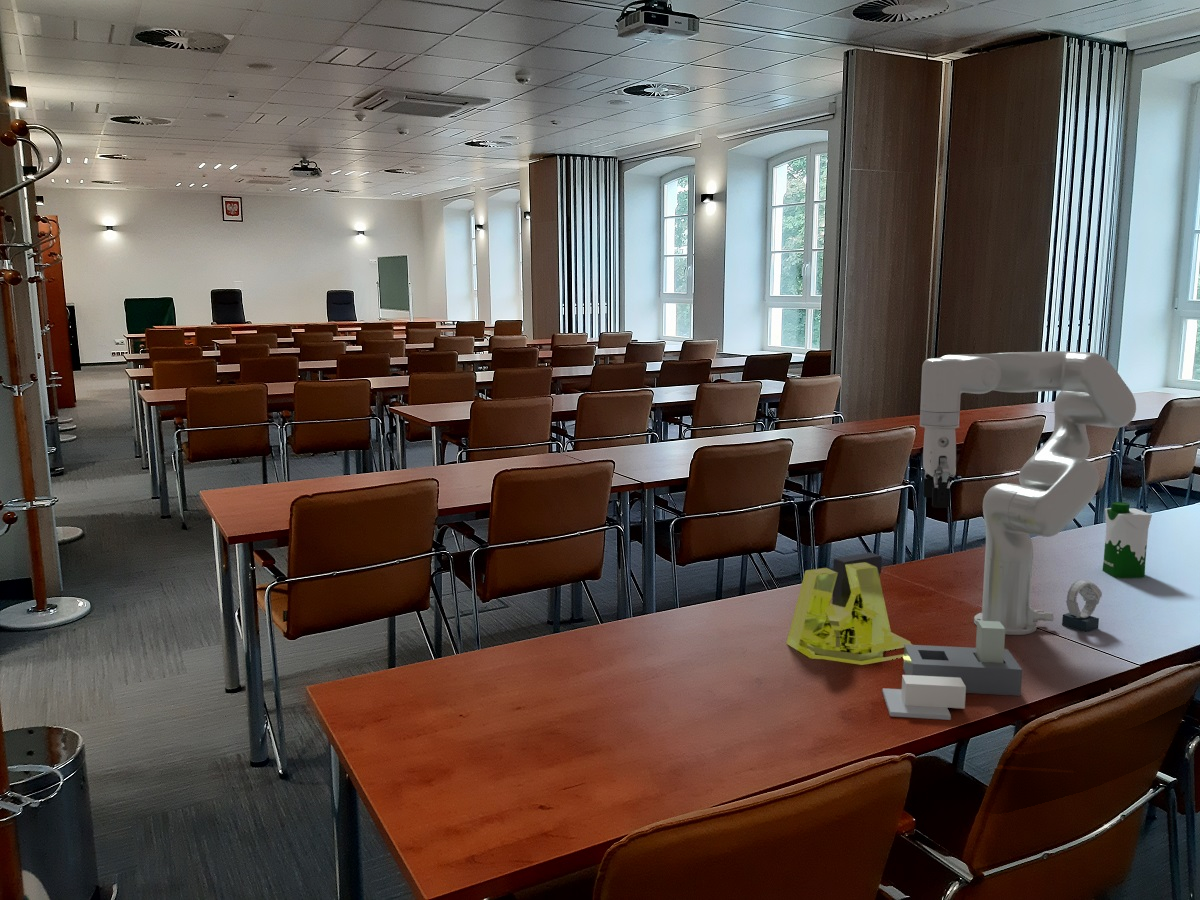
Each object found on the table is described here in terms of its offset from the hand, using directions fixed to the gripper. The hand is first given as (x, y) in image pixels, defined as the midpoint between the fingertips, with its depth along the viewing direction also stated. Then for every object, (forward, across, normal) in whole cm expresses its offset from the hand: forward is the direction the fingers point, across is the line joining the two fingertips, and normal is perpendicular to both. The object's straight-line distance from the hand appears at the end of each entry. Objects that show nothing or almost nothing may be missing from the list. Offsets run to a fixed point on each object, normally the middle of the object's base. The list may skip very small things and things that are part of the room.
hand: (935, 502), depth 187 cm
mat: (+30, -32, +8) cm, 45 cm away
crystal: (+31, -4, +15) cm, 35 cm away
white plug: (+28, -32, +10) cm, 43 cm away
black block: (+31, +12, +14) cm, 36 cm away
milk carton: (+31, +53, -57) cm, 84 cm away
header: (+30, -20, -2) cm, 36 cm away
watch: (+31, +12, -34) cm, 47 cm away
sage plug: (+29, -20, -7) cm, 36 cm away
